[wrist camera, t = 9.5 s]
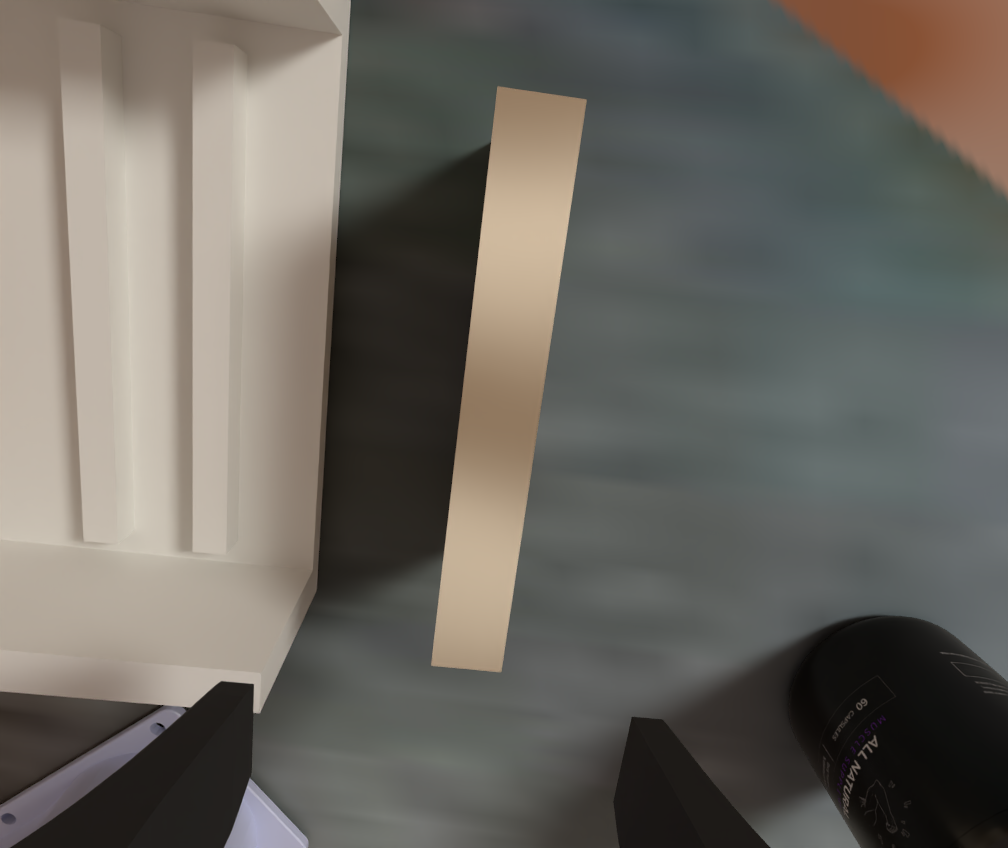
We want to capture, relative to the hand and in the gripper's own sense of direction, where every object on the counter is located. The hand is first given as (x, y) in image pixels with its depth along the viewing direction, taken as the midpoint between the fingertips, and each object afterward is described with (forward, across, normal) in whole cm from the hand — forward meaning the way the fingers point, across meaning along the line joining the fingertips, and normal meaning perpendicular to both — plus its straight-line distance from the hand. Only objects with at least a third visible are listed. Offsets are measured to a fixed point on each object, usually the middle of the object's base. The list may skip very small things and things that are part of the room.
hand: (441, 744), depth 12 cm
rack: (+10, +12, -6) cm, 16 cm away
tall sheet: (+10, 0, -6) cm, 12 cm away
